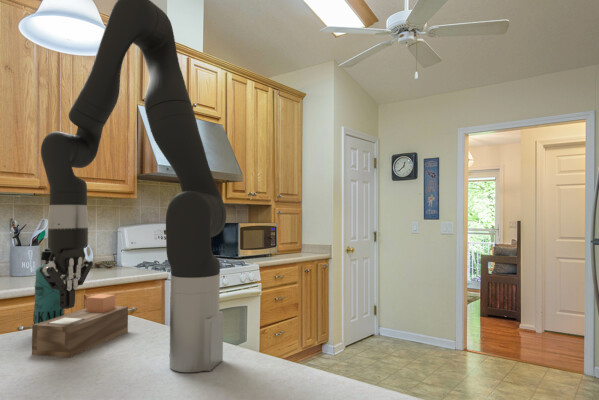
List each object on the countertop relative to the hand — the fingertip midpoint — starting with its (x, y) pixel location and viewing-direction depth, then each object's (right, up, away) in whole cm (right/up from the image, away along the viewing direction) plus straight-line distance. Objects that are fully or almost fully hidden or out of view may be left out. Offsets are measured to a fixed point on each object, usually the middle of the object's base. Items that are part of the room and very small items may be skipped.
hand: (67, 307), depth 87 cm
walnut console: (+1, -9, +5) cm, 10 cm away
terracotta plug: (+2, -5, +11) cm, 12 cm away
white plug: (0, -8, 0) cm, 8 cm away
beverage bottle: (-11, -9, +11) cm, 18 cm away
